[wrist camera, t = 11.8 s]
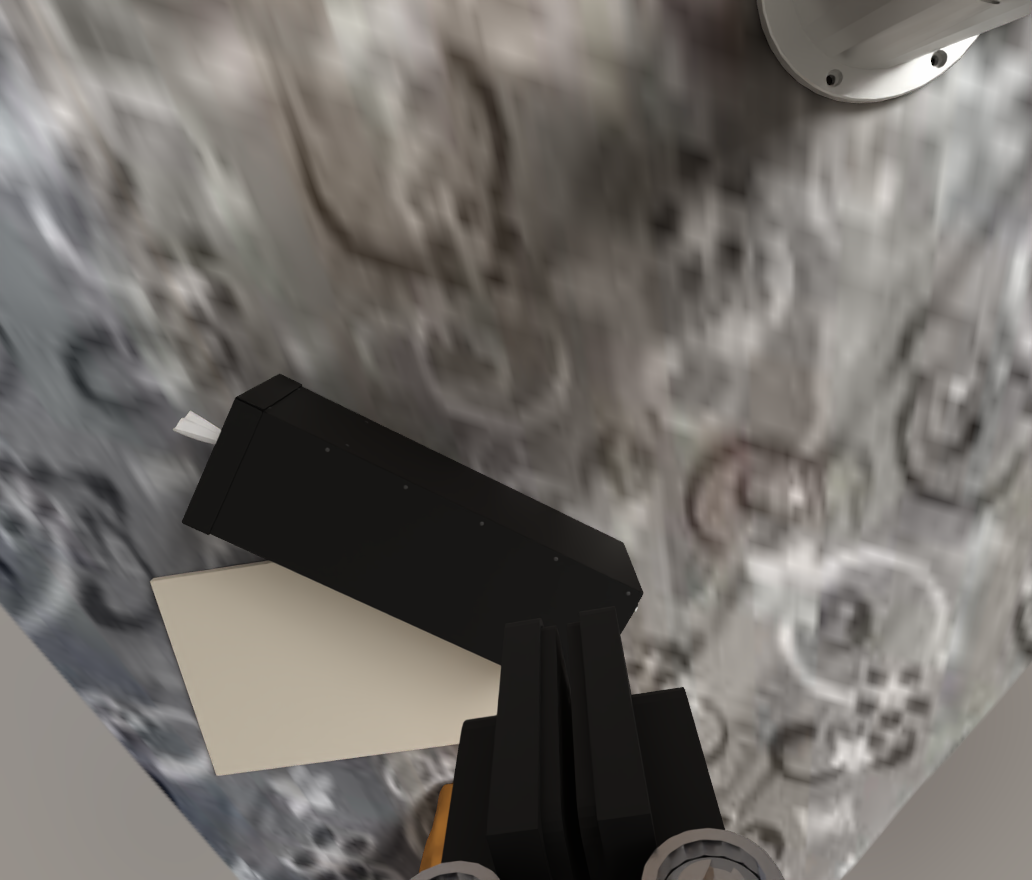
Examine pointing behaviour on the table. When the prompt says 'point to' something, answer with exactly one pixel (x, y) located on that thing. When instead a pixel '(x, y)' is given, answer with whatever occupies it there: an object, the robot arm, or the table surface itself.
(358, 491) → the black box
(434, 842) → the coffee package
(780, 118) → the table surface
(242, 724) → the mat
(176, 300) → the table surface
